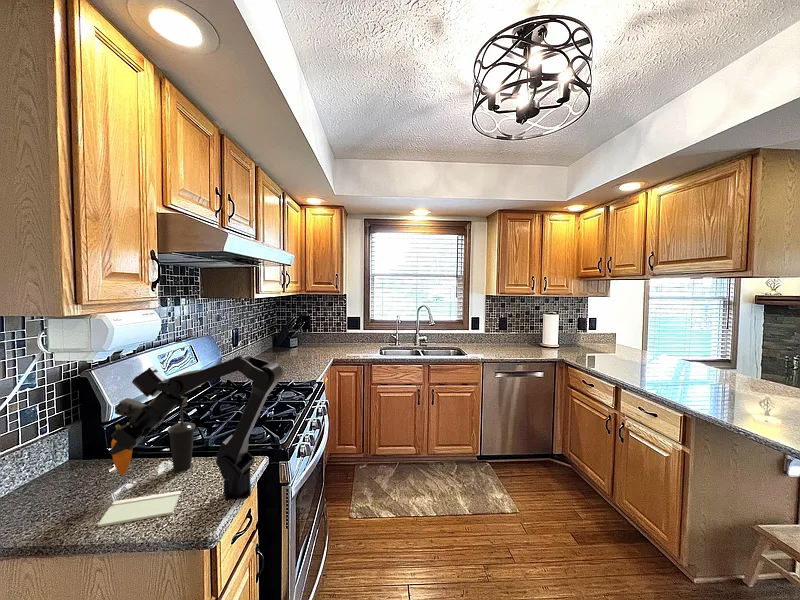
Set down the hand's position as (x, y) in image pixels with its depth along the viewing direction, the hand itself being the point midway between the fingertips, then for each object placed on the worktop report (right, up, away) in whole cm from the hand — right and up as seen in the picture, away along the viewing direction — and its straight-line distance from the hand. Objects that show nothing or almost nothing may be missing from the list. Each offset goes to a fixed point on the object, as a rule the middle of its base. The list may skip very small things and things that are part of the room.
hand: (116, 449), depth 104 cm
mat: (+11, -14, -7) cm, 19 cm away
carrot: (+1, -8, +1) cm, 8 cm away
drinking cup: (+9, -13, +16) cm, 22 cm away
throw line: (+9, -13, -1) cm, 16 cm away
